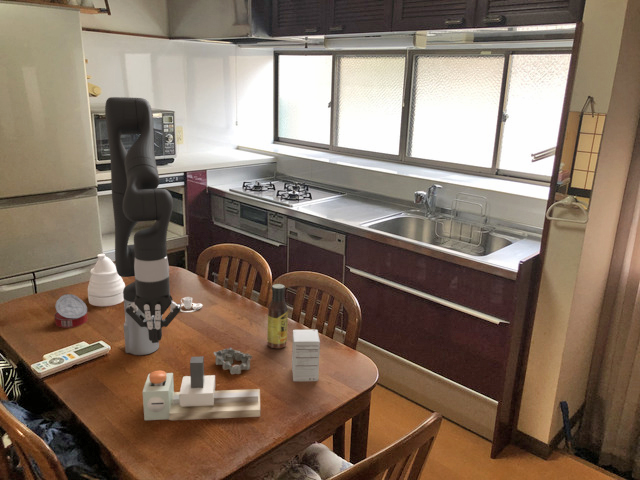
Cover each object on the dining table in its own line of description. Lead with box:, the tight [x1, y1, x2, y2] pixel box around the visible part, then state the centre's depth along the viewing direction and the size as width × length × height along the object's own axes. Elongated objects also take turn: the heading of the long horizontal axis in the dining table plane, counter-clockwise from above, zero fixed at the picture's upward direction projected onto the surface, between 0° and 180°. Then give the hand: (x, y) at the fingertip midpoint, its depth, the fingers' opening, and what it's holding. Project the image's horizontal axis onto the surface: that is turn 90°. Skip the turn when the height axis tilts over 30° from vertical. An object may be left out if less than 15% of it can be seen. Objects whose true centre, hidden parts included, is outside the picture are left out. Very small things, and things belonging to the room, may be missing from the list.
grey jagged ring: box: [213, 347, 253, 375], centre depth 152 cm, size 11×8×4 cm
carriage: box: [179, 355, 216, 407], centre depth 130 cm, size 8×8×12 cm
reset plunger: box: [149, 370, 167, 386], centre depth 129 cm, size 4×4×6 cm
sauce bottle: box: [266, 283, 289, 350], centre depth 162 cm, size 7×6×20 cm
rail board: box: [168, 388, 261, 421], centre depth 132 cm, size 22×9×4 cm, turn 97°
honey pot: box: [87, 253, 126, 307], centre depth 190 cm, size 13×13×18 cm
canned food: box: [54, 293, 89, 329], centre depth 174 cm, size 11×10×10 cm
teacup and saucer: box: [179, 296, 204, 313], centre depth 188 cm, size 9×8×4 cm
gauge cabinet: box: [142, 372, 175, 421], centre depth 129 cm, size 6×9×8 cm
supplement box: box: [291, 329, 321, 382], centre depth 147 cm, size 7×7×13 cm
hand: (155, 341), depth 125 cm, fingers closed
